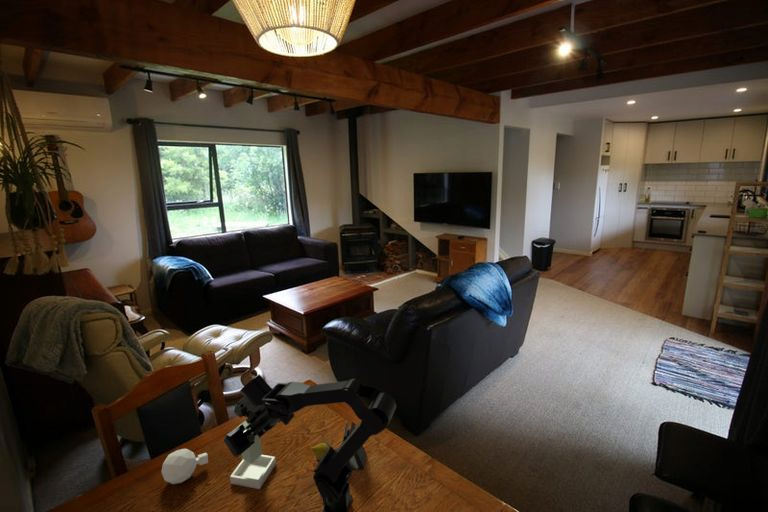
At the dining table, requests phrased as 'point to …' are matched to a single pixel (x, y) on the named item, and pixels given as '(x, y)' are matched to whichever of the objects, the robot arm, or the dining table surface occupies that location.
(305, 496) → the dining table surface
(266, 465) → the tray
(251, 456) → the block
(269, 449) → the dining table surface
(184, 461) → the perfume bottle
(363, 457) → the phone stand
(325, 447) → the drill bit
